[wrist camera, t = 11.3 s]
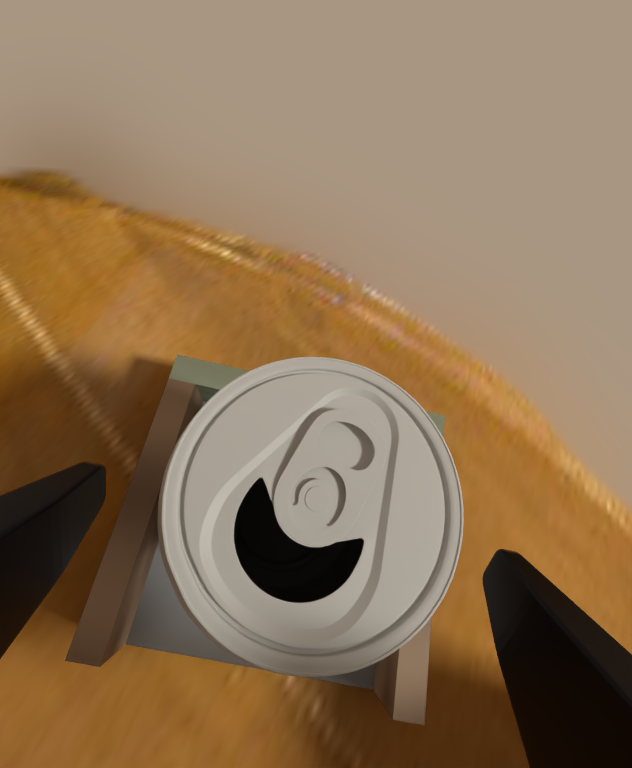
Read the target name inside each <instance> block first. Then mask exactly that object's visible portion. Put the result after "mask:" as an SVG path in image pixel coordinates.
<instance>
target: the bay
mask: <svg viewBox="0 0 632 768" xmlns="http://www.w3.org/2000/svg"><path fill="white" fill-rule="evenodd" d="M247 372H249V371H247V370H242V369H238V368H234V367H229V366H225V365H220V364H216V363H212V362H207V361H203V360H198V359H194V358H190V357H185V356H181V355H177V357H176V359H175V362H174V365H173V367H172V370H171V373H170V376H169V378H168V381H167V384H166V387H165V389H164V392H163V395H162V397H161V400H160V403H159V406H158V408H157V411H156V414H155V417H154V419H153V422H152V425H151V428H150V430H149V433H148V436H147V438H146V441H145V444H144V447H143V449H142V452H141V455H140V458H139V460H138V463H137V466H136V468H135V471H134V474H133V477H132V479H131V482H130V485H129V488H128V490H127V493H126V496H125V498H124V501H123V504H122V507H121V509H120V512H119V515H118V518H117V520H116V523H115V526H114V528H113V531H112V534H111V537H110V539H109V542H108V545H107V548H106V550H105V553H104V556H103V558H102V561H101V564H100V567H99V569H98V572H97V575H96V578H95V580H94V583H93V586H92V588H91V591H90V594H89V597H88V599H87V602H86V605H85V608H84V610H83V613H82V616H81V619H80V621H79V624H78V627H77V629H76V632H75V635H74V638H73V640H72V643H71V646H70V649H69V651H68V654H67V657H66V659H65V661H70V662H76V663H81V664H87V665H92V666H98V667H100V666H101V665H103V664H104V663H105V662H106V661H107V660H108V659H109V658H110V657H112V656H113V655H114V654H115V653H116V652H117V651H118V650H120V649H121V648H122V647H123V646H124V645H125V644H127V645H133V646H138V647H144V648H149V649H155V650H160V651H165V652H171V653H176V654H182V655H187V656H193V657H198V658H203V659H209V660H214V661H220V662H225V663H231V664H236V665H241V666H247V667H252V668H257V667H255V666H252V665H250V664H248V663H246V662H243V661H241V660H239V659H238V658H236V657H234V656H232V655H230V654H229V653H227V652H226V651H224V650H223V649H221V648H220V647H219V646H218V645H216V644H215V643H214V642H213V641H211V640H210V639H209V638H208V637H207V636H206V635H205V634H204V633H203V632H202V631H201V630H200V629H199V628H198V627H197V625H196V624H195V623H194V622H193V621H192V619H191V618H190V617H189V616H188V614H187V613H186V612H185V610H184V609H183V607H182V606H181V604H180V602H179V600H178V598H177V595H176V593H175V591H174V589H173V586H172V584H171V582H170V579H169V577H168V575H167V572H166V570H165V567H164V564H163V561H162V557H161V552H160V545H159V537H158V501H159V494H160V489H161V485H162V480H163V476H164V473H165V469H166V467H167V464H168V461H169V459H170V456H171V454H172V452H173V449H174V447H175V445H176V443H177V442H178V440H179V438H180V437H181V435H182V433H183V432H184V430H185V429H186V427H187V426H188V424H189V423H190V422H191V420H192V419H193V418H194V416H195V415H196V414H197V413H198V411H199V410H200V409H201V408H202V407H203V406H204V405H205V404H206V403H207V401H208V400H209V399H210V398H211V397H213V396H214V395H215V394H216V393H217V392H218V391H219V390H221V389H222V388H223V387H224V386H226V385H227V384H228V383H230V382H231V381H233V380H235V379H236V378H238V377H239V376H241V375H243V374H245V373H247ZM426 413H427V414H428V415H429V417H430V418H431V419H432V421H433V422H434V423H435V425H436V426H437V428H438V430H439V431H440V433H441V434H442V436H443V435H444V420H445V416H444V415H440V414H435V413H431V412H427V411H426ZM431 618H432V616H431ZM431 618H430V619H429V620H428V622H427V623H426V624H425V625H424V627H423V628H422V629H421V630H420V631H419V632H418V633H417V634H416V635H415V636H414V637H413V638H412V639H411V640H409V641H408V642H407V643H406V644H405V645H404V646H402V647H401V648H399V649H398V650H396V651H395V652H394V653H392V654H390V655H389V656H387V657H386V658H384V659H382V660H380V661H378V662H376V663H374V664H372V665H370V666H367V667H365V668H362V669H360V670H357V671H353V672H350V673H345V674H340V675H334V676H326V677H307V678H312V679H317V680H323V681H328V682H334V683H339V684H345V685H350V686H355V687H361V688H366V689H372V690H374V692H375V693H376V695H377V696H378V698H379V699H380V701H381V702H382V704H383V705H384V707H385V708H386V710H387V711H388V713H389V715H390V716H391V718H392V719H393V720H397V721H403V722H408V723H414V724H420V725H425V710H426V694H427V679H428V664H429V649H430V633H431ZM258 669H260V668H258Z"/></svg>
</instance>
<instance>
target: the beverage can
mask: <svg viewBox="0 0 632 768" xmlns="http://www.w3.org/2000/svg"><path fill="white" fill-rule="evenodd" d="M462 536H463V501H462V492H461V487H460V481H459V477H458V473H457V470H456V467H455V464H454V461H453V458H452V455H451V453H450V451H449V448H448V446H447V444H446V442H445V440H444V438H443V436H442V434H441V433H440V431H439V430H438V428H437V426H436V425H435V423H434V422H433V421H432V419H431V418H430V417H429V415H428V414H427V413H426V411H425V410H424V409H423V408H422V407H421V406H420V404H419V403H418V402H417V401H416V400H415V399H414V398H412V397H411V396H410V395H409V394H408V393H407V392H406V391H405V390H404V389H402V388H401V387H400V386H398V385H397V384H395V383H394V382H392V381H391V380H389V379H388V378H386V377H385V376H383V375H381V374H379V373H377V372H375V371H373V370H371V369H369V368H366V367H364V366H361V365H358V364H355V363H352V362H348V361H345V360H340V359H333V358H325V357H298V358H290V359H284V360H280V361H276V362H272V363H269V364H266V365H263V366H260V367H258V368H255V369H253V370H251V371H249V372H247V373H245V374H243V375H241V376H239V377H238V378H236V379H235V380H233V381H231V382H230V383H228V384H227V385H226V386H224V387H223V388H222V389H221V390H219V391H218V392H217V393H216V394H215V395H214V396H213V397H211V398H210V399H209V400H208V401H207V403H206V404H205V405H204V406H203V407H202V408H201V409H200V410H199V411H198V413H197V414H196V415H195V416H194V418H193V419H192V420H191V422H190V423H189V424H188V426H187V427H186V429H185V430H184V432H183V433H182V435H181V437H180V438H179V440H178V442H177V443H176V445H175V447H174V449H173V452H172V454H171V456H170V459H169V461H168V464H167V467H166V469H165V473H164V476H163V480H162V485H161V489H160V494H159V501H158V537H159V545H160V552H161V557H162V561H163V564H164V567H165V570H166V572H167V575H168V577H169V579H170V582H171V584H172V586H173V589H174V591H175V593H176V595H177V598H178V600H179V602H180V604H181V606H182V607H183V609H184V610H185V612H186V613H187V614H188V616H189V617H190V618H191V619H192V621H193V622H194V623H195V624H196V625H197V627H198V628H199V629H200V630H201V631H202V632H203V633H204V634H205V635H206V636H207V637H208V638H209V639H210V640H211V641H213V642H214V643H215V644H216V645H218V646H219V647H220V648H221V649H223V650H224V651H226V652H227V653H229V654H230V655H232V656H234V657H236V658H238V659H239V660H241V661H243V662H246V663H248V664H250V665H252V666H255V667H257V668H260V669H263V670H267V671H271V672H275V673H279V674H285V675H290V676H299V677H326V676H334V675H340V674H345V673H350V672H353V671H357V670H360V669H362V668H365V667H367V666H370V665H372V664H374V663H376V662H378V661H380V660H382V659H384V658H386V657H387V656H389V655H390V654H392V653H394V652H395V651H396V650H398V649H399V648H401V647H402V646H404V645H405V644H406V643H407V642H408V641H409V640H411V639H412V638H413V637H414V636H415V635H416V634H417V633H418V632H419V631H420V630H421V629H422V628H423V627H424V625H425V624H426V623H427V622H428V620H429V619H430V618H431V616H432V615H433V613H434V612H435V611H436V609H437V608H438V606H439V605H440V603H441V602H442V600H443V598H444V596H445V594H446V592H447V590H448V587H449V585H450V583H451V581H452V579H453V576H454V573H455V570H456V566H457V563H458V558H459V554H460V549H461V543H462Z"/></svg>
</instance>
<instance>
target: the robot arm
mask: <svg viewBox="0 0 632 768" xmlns="http://www.w3.org/2000/svg"><path fill="white" fill-rule="evenodd" d="M105 495H106V470H105V467H104V466H103V465H101V464H96V463H91V462H82V463H79V464H77V465H74V466H72V467H69V468H67V469H64V470H62V471H59V472H57V473H55V474H52V475H50V476H47V477H45V478H42V479H40V480H37V481H35V482H33V483H30V484H28V485H25V486H23V487H20V488H18V489H15V490H13V491H11V492H8V493H6V494H3V495H1V496H0V659H1V657H2V656H3V654H4V653H5V652H6V650H7V649H8V648H9V646H10V645H11V643H12V642H13V641H14V639H15V638H16V636H17V635H18V634H19V632H20V631H21V630H22V628H23V627H24V625H25V624H26V623H27V621H28V620H29V619H30V617H31V616H32V614H33V613H34V612H35V610H36V609H37V608H38V606H39V605H40V603H41V602H42V601H43V599H44V598H45V597H46V595H47V594H48V592H49V591H50V590H51V588H52V587H53V585H54V584H55V583H56V581H57V580H58V578H59V577H60V575H61V574H62V573H63V571H64V570H65V568H66V566H67V565H68V563H69V561H70V560H71V558H72V556H73V555H74V553H75V551H76V549H77V548H78V546H79V544H80V543H81V541H82V539H83V537H84V536H85V534H86V532H87V531H88V529H89V527H90V525H91V524H92V522H93V520H94V519H95V517H96V515H97V514H98V512H99V510H100V508H101V507H102V505H103V502H104V500H105ZM483 587H484V592H485V597H486V602H487V607H488V612H489V617H490V622H491V627H492V632H493V638H494V643H495V647H496V651H497V656H498V659H499V663H500V667H501V670H502V674H503V677H504V681H505V684H506V687H507V691H508V694H509V698H510V701H511V704H512V708H513V711H514V715H515V718H516V721H517V725H518V728H519V732H520V735H521V738H522V742H523V745H524V749H525V752H526V755H527V759H528V762H529V766H530V768H632V654H631V653H629V652H628V651H627V650H626V649H625V648H624V647H623V646H622V645H620V644H619V643H618V642H617V641H616V640H615V639H614V638H613V637H612V636H610V635H609V634H608V633H607V632H606V631H605V630H604V629H603V628H602V627H600V626H599V625H598V624H597V623H596V622H595V621H594V620H593V619H592V618H590V617H589V616H588V615H587V614H586V613H585V612H584V611H583V610H582V609H580V608H579V607H578V606H577V605H576V604H575V603H574V602H573V601H572V600H570V599H569V598H568V597H567V596H566V595H565V594H564V593H563V592H562V591H560V590H559V589H558V588H557V587H556V586H555V585H554V584H553V583H552V582H550V581H549V580H548V579H547V578H546V577H545V576H544V575H543V574H542V573H540V572H539V571H538V570H537V569H536V568H535V567H534V566H533V565H532V564H530V563H529V562H528V561H527V560H526V559H525V558H524V557H523V556H521V555H520V554H519V553H517V552H514V551H510V550H505V549H499V550H498V551H496V553H495V554H494V556H493V558H492V559H491V561H490V563H489V565H488V566H487V568H486V570H485V572H484V574H483Z"/></svg>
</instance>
